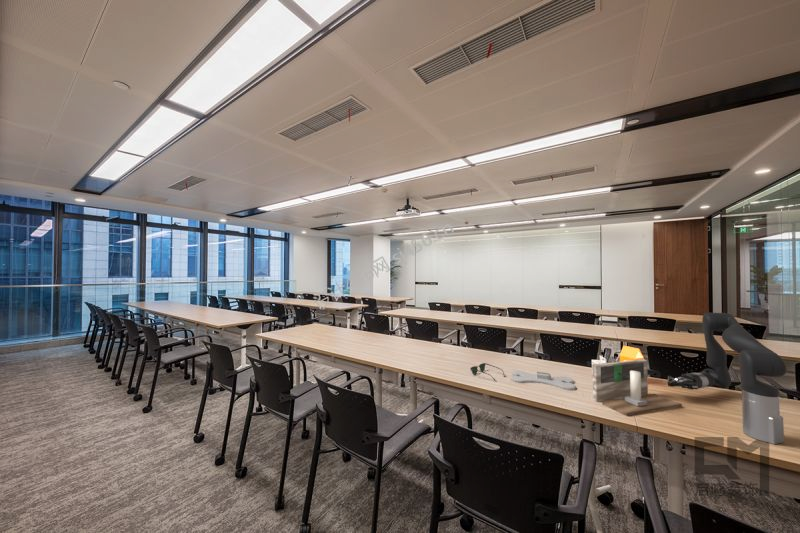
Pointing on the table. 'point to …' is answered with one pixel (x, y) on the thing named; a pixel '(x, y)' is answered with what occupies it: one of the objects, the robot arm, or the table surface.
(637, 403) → the white cylinder on base
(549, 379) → the holder
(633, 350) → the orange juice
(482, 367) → the sunglasses
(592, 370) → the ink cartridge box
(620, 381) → the base
